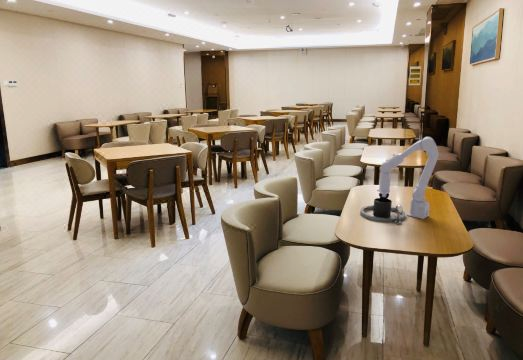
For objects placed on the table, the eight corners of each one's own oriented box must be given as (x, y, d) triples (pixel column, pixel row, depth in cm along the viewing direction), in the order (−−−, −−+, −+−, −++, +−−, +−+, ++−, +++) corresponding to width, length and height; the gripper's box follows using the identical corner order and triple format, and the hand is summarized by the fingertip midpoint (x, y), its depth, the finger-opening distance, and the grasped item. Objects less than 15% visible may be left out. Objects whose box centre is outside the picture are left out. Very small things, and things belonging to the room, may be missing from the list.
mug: (392, 213, 233) (393, 198, 231) (389, 219, 223) (390, 203, 221) (375, 210, 237) (376, 195, 235) (371, 216, 227) (372, 201, 225)
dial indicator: (402, 224, 215) (404, 206, 213) (397, 225, 214) (399, 206, 212) (397, 221, 220) (398, 203, 217) (392, 222, 219) (393, 203, 216)
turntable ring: (412, 214, 230) (413, 211, 230) (392, 225, 213) (393, 221, 213) (373, 205, 247) (373, 202, 246) (352, 214, 230) (352, 211, 229)
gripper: (377, 179, 240) (376, 201, 244) (377, 185, 227) (375, 208, 230) (390, 180, 238) (388, 202, 242) (390, 186, 225) (388, 209, 228)
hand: (383, 205), depth 236 cm, fingers closed
